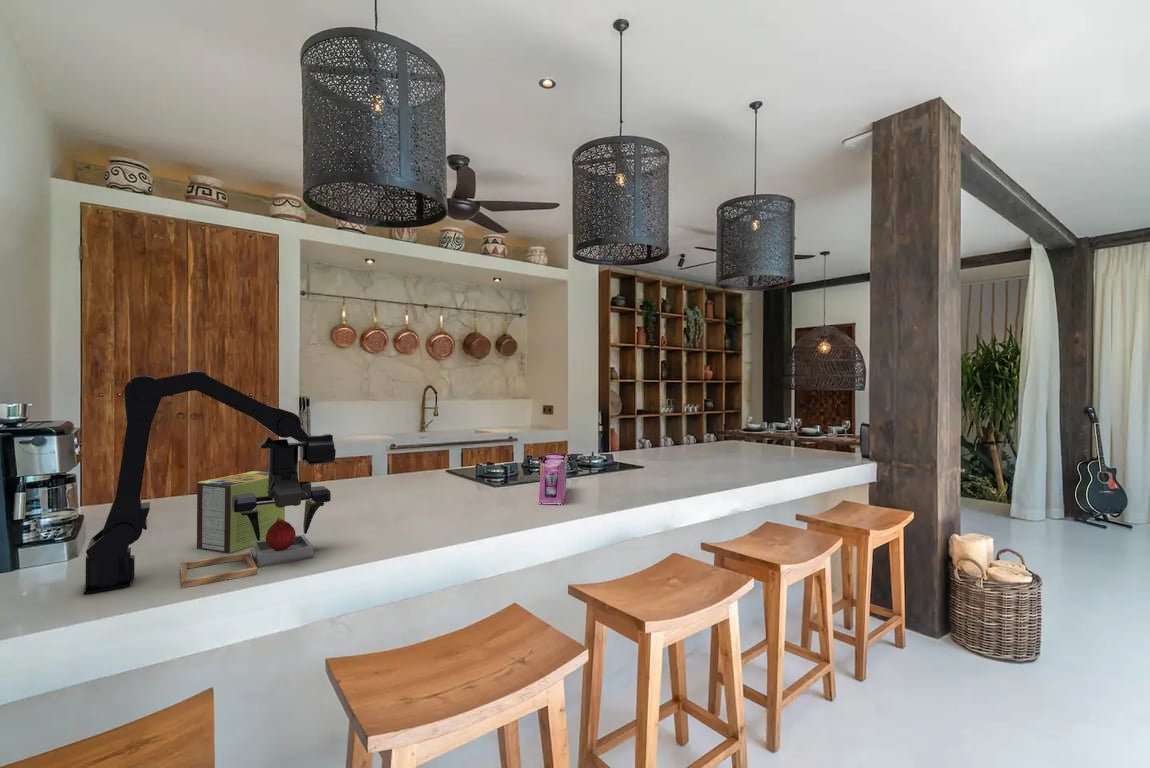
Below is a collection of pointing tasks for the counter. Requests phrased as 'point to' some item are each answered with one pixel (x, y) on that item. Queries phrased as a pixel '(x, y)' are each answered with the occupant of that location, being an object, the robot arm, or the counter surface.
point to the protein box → (232, 512)
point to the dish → (282, 552)
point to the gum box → (553, 478)
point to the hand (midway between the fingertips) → (282, 536)
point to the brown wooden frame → (217, 577)
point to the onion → (280, 535)
